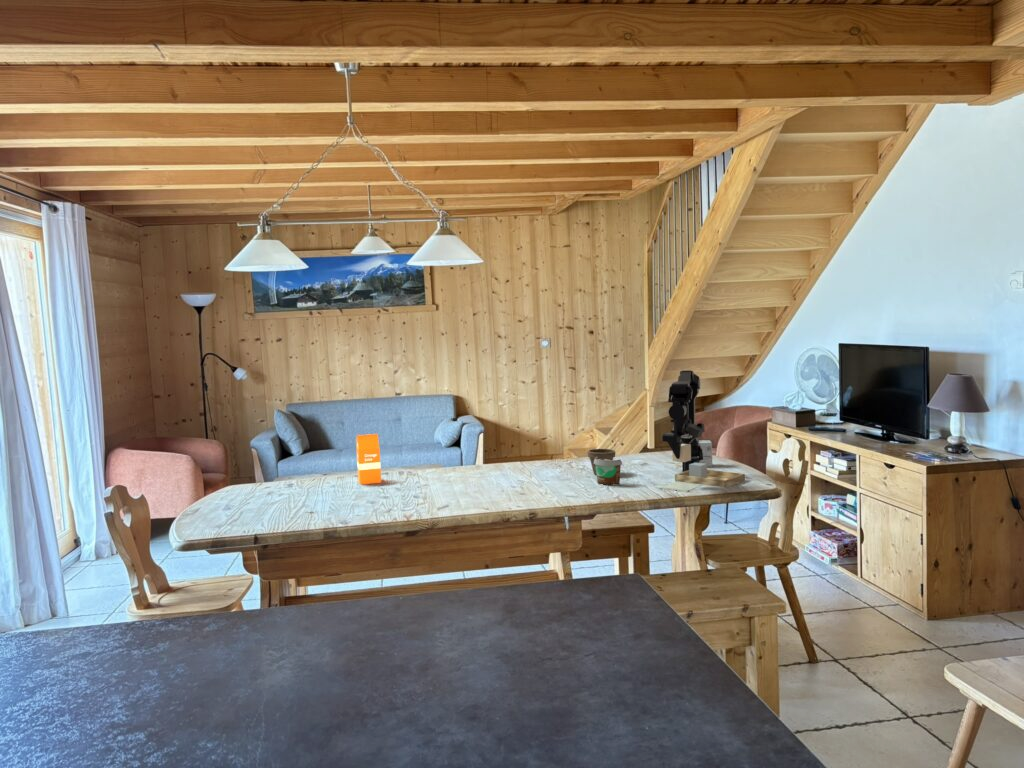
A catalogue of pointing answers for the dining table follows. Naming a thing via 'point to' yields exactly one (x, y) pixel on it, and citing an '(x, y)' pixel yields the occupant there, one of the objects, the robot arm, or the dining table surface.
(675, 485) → the sage tile
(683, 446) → the tan box
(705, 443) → the light bulb box
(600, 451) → the flower pot
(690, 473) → the blue-grey box
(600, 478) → the food container
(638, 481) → the dining table surface
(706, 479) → the wooden tray
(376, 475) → the orange juice
